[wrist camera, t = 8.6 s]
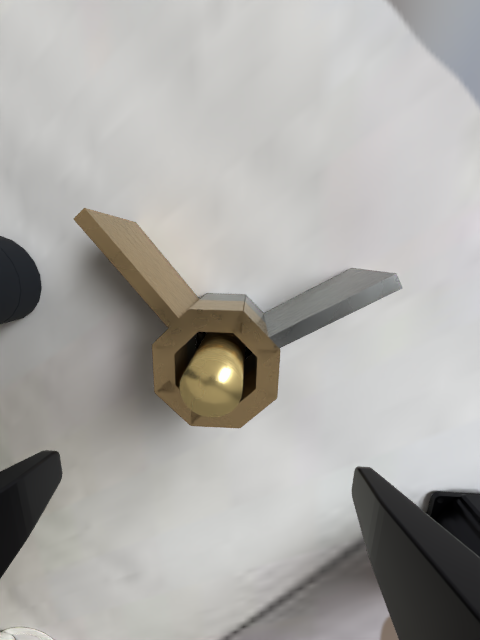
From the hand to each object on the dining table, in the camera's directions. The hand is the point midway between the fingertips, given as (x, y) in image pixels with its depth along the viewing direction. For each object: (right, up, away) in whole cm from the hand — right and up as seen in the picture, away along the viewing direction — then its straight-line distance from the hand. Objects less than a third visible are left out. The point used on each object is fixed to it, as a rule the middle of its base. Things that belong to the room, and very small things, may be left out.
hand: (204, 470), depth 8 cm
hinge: (+1, +5, +12) cm, 13 cm away
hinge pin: (0, +3, +12) cm, 13 cm away
